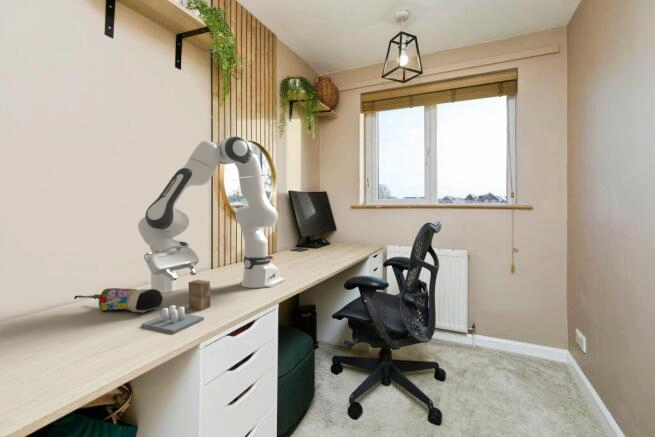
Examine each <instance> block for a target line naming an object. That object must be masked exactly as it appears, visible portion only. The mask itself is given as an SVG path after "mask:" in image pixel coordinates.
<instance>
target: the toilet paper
mask: <svg viewBox="0 0 655 437" xmlns="http://www.w3.org/2000/svg"><path fill="white" fill-rule="evenodd" d="M171 273H172V274H176V275H177V270H175V271H171ZM150 287H151V288H150V289H155V290H158V291H159V292H160V293H161V294H166V293H167V294H168V293H171V292H174V291H176V290H177V279H176V280H174V281H171V279H170V278H168V277H167V276H165V275H164V274H163V273H162V274H158V275H154V274H152V273H151V272H150Z"/></svg>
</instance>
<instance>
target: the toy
mask: <svg viewBox="0 0 655 437" xmlns="http://www.w3.org/2000/svg"><path fill="white" fill-rule="evenodd" d="M77 298H78V299H79V298H80V299H81V298H82V299H83V298H84V299H86V298H88V299H89V298H90V299H93V300H98V308H99V310H100V311H101V312H106V311H115V310H116V311H119V310H127V311H131V313H132V312H133V313H137V312H138V313H142V314H143V313H144V314H145V312H147V311H154V310H156V309H157V308H159V307H160V306H161V305H162V304H163V300H164V296H163V293H160V292H159V291H158V290H155V289H151V288H145V289H139V290H138V289H136V288H117V287H109V288H104V289H103V290H102V291H101V294H94V295H80V294H79V295H75V296H74V298H73V299H74V300H76V299H77Z"/></svg>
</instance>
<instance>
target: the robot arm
mask: <svg viewBox="0 0 655 437" xmlns="http://www.w3.org/2000/svg"><path fill="white" fill-rule="evenodd" d="M192 151H193V152H192V153H191V155H190V156H189V158H188V160H187V161H186V162H185V165H184V166H183V167H182V168H180V169H178V170H177V171H176V172H175V173H174V174H173V176H172V177H171V178H170V179H169V181H168V183H166V185H165V187H164V189H163V190H162V191H161V193H160V194H159V196H158V197H157V198H156V199H155V200H154V201H153V202H152V203H151V204H150V205H149V206H148V207H147V209H146V211H145V216H144V217H142V218H141V219H140V220H139V222H138V223H137V229H138V233H139V234H140V236H141V238H142V239H143V241H144V242H145V244H147V245H148V246H149V249H150V251H151V252H146V253H145V254H144V255H143V259H144V260H145V262H146V265H147V267H148V269H149V271H150V274H151V273H152V274H154V275H158V274H162V273H163V274H164V275H165V276H167V277H168V278H170V279H171V281H174V280H176V281H177V279H178V276H177V273H176V274H172V273H171V271H175V270H176V271H179V270H184V269H187V268H188V269H189V270H190V271H189V274H190V276H197V273H198V272H197V270H196V265H198V263H199V261H200V258H199V256H198V255H197V253H196V252H195V251H194V250H193V249H192V248H191V247H190V244H189V243H188V242H187V241H181V240H177V239H174V237H177V236H178V235H180V234H181V233H183V232H185V231H186V230H187V228H188V227H189V224H190V222H189V216H188V215H187V214H186V213H185V212H183V211H181V210H179V209H177V208H175V207H176V206H175V205H176V204H177V202H178V200H179V199H180V198H181V196H182V194H183V193H184V191H185V190H186V189H187V188H189V187H191V186H195V187H196V186H197V187H198V186H203V185H204V186H205V185H207V184H208V183H209V181H210V180H211V178H212V177H213V174H214V173H215V171H216V168H217V167H218V165H219V164H222V165H229V164H230V165H231V164H234V165H235V167H236V169H237V172H238V173H237V174H238V180H239V188H240V194H241V196H243V198H244V199H245V201H246V202H247V204H248V205H243V206H241V207H238V209H237V210H236V212H235V216H234V217H235V221H236V222H237V224H238V225H239V226H240V229H241V231H242V232H241V233H242V235H243V239H244V240H243V241H244V255H243V264H244V267H243V274H242V275H243V276H242V279H241V280H242V281H241V286H242V287H245V288H248V289H249V288H250V289H257V288H258V289H259V288H272V287H273V286H276V285H278V284H280V283H282V282H285V280H286V279H285V277H283V276H281V271H280V269H279V267H278V266H276V265H275V264H274V263H272V262H271V260H274V258H275V257H274V255H271V254H270V255H269V254H268V253H269V246H268V244H269V241H268V239H267V237H266V236H265V234H264V231H263V229H268V228H272V227H274V226H275V225H276V224H277V222H278V220H279V214H278V211H277V210H276V208H275V207H273V205H272V204H271V202H270V200H269V198H268V195H267V194H266V189H265V183H264V178H263V171H262V165H261V162H260V159H259V157H258V155H257V154H255V153H253V152H252V150H251V148H250V145H249V144H248V141H246V139H245V138H243V137H240V136H232V137H227V138H224V139H222V140H220V141H218V142H216V143H215V142H213V141H211V140H203V141H201V142H199V144H198V145H197V146H196V147H195V149H194V150H192Z"/></svg>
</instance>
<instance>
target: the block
mask: <svg viewBox="0 0 655 437" xmlns="http://www.w3.org/2000/svg"><path fill="white" fill-rule="evenodd" d="M209 308H211V281H210V280H203V279H196V280H191V281H189V282H188V309H189V310H194V311H201V312H202V311H203V310H206V309H209Z"/></svg>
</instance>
